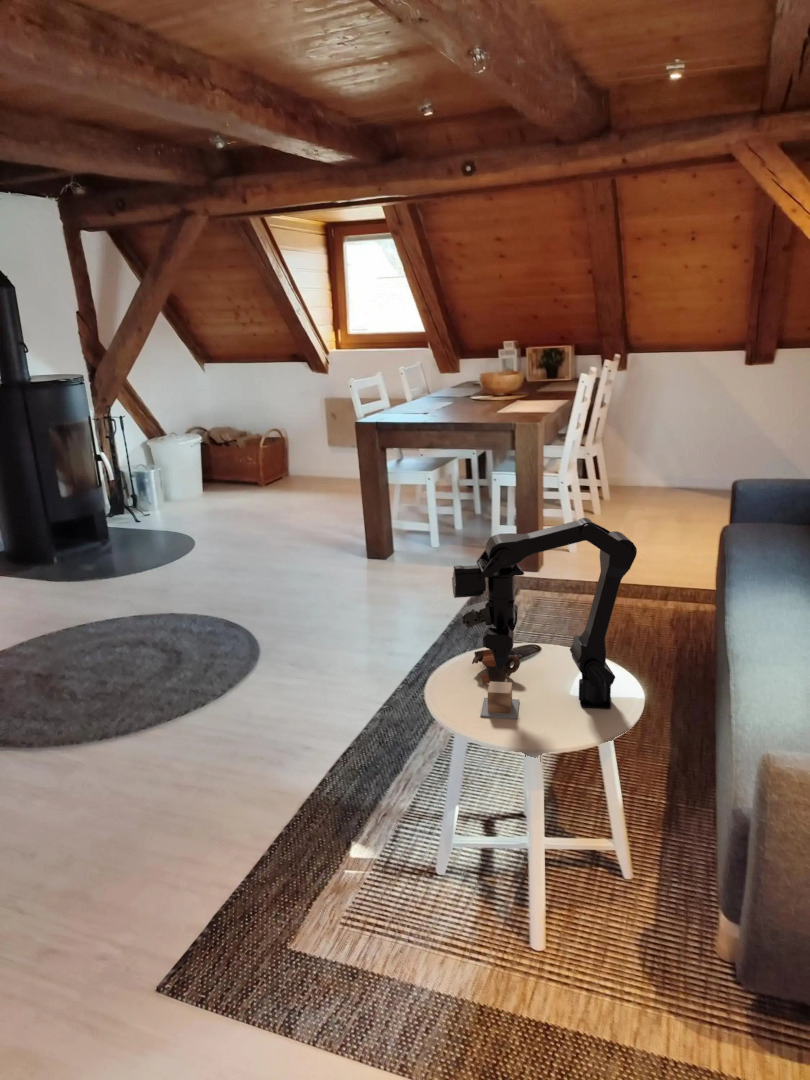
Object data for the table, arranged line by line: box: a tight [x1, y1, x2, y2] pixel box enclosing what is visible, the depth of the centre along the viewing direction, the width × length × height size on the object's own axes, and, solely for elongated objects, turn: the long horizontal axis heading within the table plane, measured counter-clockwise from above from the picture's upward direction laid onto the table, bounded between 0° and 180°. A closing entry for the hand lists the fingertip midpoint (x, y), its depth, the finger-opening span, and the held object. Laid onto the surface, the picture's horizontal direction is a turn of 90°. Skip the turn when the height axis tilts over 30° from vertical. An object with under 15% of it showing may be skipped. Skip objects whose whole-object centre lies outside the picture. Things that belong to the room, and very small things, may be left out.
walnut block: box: [487, 681, 513, 714], centre depth 173 cm, size 5×5×5 cm
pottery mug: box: [471, 648, 521, 685], centre depth 189 cm, size 12×9×8 cm
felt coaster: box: [480, 696, 520, 720], centre depth 174 cm, size 8×8×1 cm
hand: (501, 660), depth 171 cm, fingers open, 9 cm apart
